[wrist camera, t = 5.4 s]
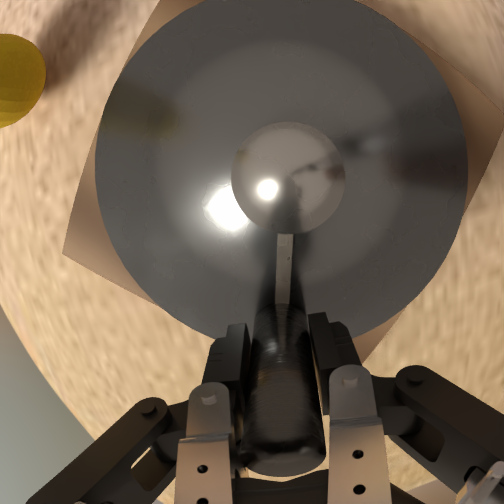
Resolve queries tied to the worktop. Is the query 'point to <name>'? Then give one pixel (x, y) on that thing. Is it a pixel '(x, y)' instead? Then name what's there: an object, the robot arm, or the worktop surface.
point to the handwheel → (281, 188)
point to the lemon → (19, 77)
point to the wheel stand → (111, 268)
